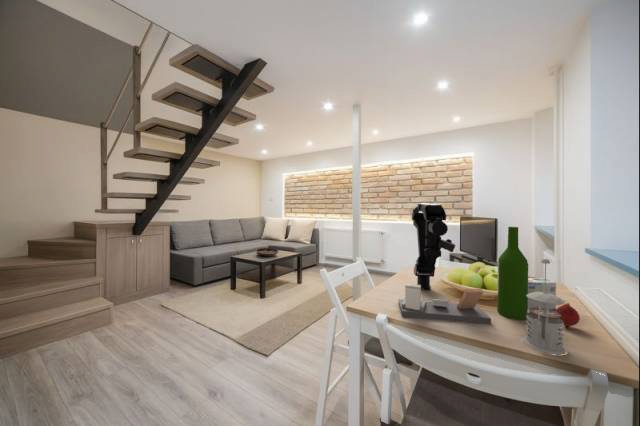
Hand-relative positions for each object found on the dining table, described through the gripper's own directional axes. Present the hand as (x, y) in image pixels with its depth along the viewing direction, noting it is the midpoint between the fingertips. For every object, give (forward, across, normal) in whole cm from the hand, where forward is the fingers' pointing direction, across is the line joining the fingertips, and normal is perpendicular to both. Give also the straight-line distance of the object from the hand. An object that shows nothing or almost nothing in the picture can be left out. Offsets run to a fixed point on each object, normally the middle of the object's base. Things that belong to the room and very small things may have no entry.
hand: (432, 269), depth 107 cm
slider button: (+11, -19, +6) cm, 23 cm away
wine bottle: (+13, -4, -27) cm, 30 cm away
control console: (+13, -14, -3) cm, 19 cm away
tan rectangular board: (+11, -10, -11) cm, 19 cm away
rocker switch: (+11, -14, -3) cm, 18 cm away
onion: (+13, -8, -41) cm, 44 cm away
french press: (+13, -27, -29) cm, 42 cm away
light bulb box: (+13, +10, -38) cm, 42 cm away
